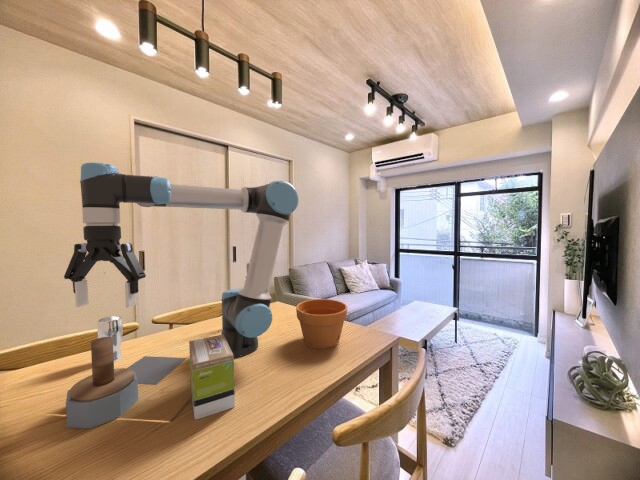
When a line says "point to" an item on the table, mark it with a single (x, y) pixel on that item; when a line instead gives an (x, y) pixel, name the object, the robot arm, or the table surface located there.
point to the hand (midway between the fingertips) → (106, 305)
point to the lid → (102, 374)
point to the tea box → (211, 376)
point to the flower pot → (321, 321)
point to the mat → (154, 368)
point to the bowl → (101, 407)
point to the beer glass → (112, 333)
